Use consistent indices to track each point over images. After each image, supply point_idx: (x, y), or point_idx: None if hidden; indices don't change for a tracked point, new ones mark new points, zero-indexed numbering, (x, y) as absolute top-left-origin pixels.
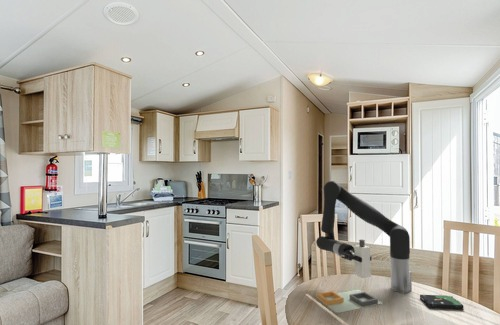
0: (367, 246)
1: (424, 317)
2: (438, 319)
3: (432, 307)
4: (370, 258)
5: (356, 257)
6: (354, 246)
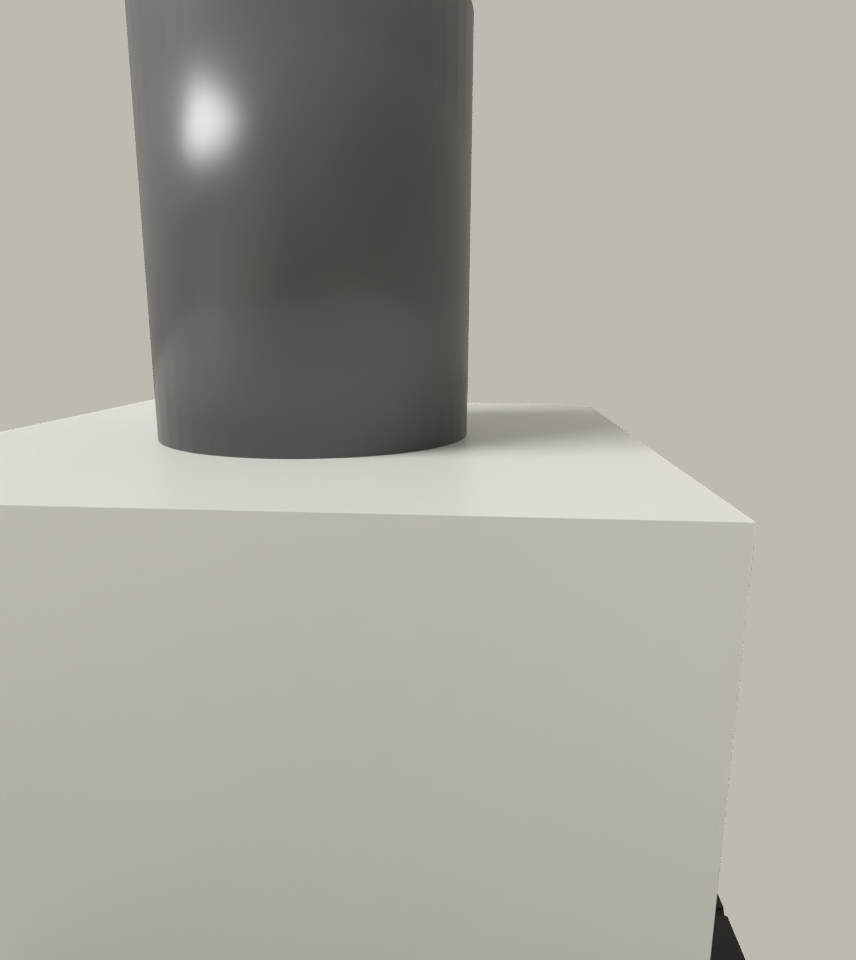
0: (122, 413)
1: None
2: None
3: None
4: None
5: (723, 932)
6: (741, 605)
